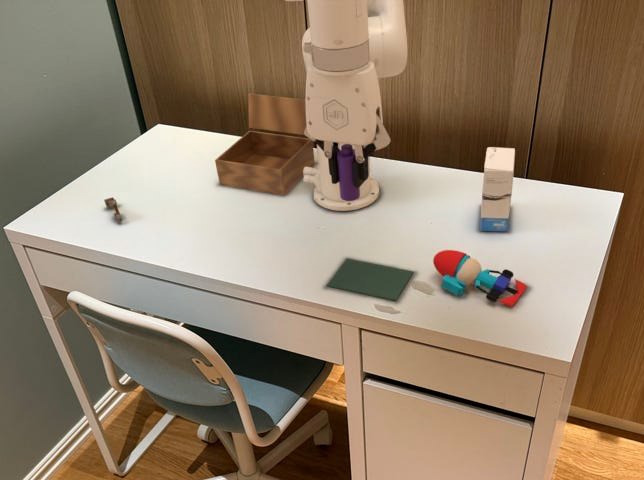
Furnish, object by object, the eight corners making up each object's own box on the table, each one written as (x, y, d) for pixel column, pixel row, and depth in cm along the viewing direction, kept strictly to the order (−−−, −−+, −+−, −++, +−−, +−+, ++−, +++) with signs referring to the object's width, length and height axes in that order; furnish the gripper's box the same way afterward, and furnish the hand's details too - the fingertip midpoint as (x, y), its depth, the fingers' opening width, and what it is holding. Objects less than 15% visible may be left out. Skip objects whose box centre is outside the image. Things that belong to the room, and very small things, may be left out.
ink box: (508, 232, 123) (514, 170, 115) (479, 231, 124) (483, 169, 116) (509, 207, 129) (515, 146, 122) (481, 206, 130) (485, 145, 123)
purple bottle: (336, 199, 107) (332, 149, 102) (345, 190, 109) (341, 140, 104) (355, 202, 106) (351, 152, 101) (363, 193, 108) (360, 143, 103)
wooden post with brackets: (116, 223, 134) (108, 199, 132) (111, 221, 141) (103, 198, 139) (126, 220, 134) (117, 196, 133) (120, 218, 142) (112, 196, 140)
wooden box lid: (248, 93, 146) (248, 93, 146) (248, 127, 149) (249, 127, 149) (312, 100, 140) (313, 100, 141) (311, 136, 144) (312, 135, 144)
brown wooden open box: (219, 184, 144) (214, 160, 140) (253, 154, 153) (249, 130, 149) (284, 195, 139) (280, 170, 135) (315, 163, 148) (312, 139, 144)
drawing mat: (327, 286, 116) (326, 284, 116) (346, 259, 121) (346, 258, 121) (396, 301, 112) (395, 299, 111) (413, 273, 117) (413, 271, 117)
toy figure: (526, 291, 113) (442, 255, 118) (534, 269, 109) (446, 233, 114) (507, 321, 109) (421, 283, 114) (514, 299, 105) (424, 260, 110)
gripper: (273, 59, 94) (289, 185, 106) (387, 70, 88) (391, 202, 100) (299, 40, 99) (312, 163, 111) (409, 49, 93) (410, 177, 105)
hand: (349, 180), depth 106 cm, fingers closed on purple bottle, 3 cm apart
